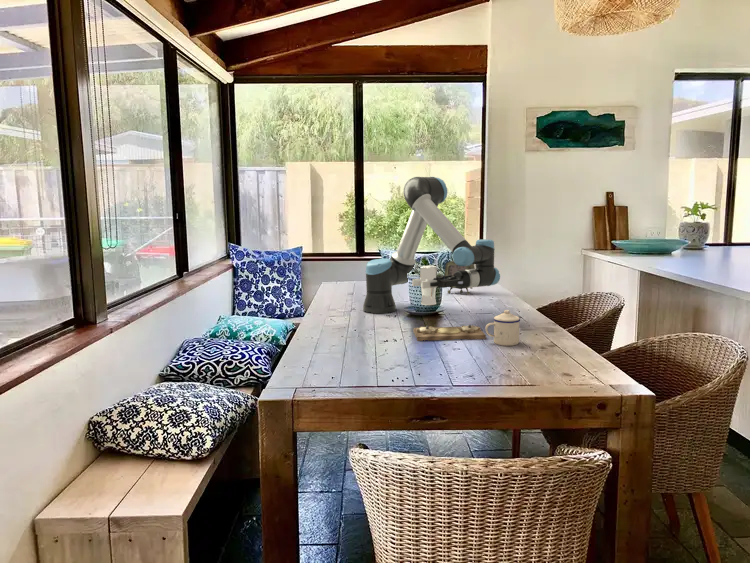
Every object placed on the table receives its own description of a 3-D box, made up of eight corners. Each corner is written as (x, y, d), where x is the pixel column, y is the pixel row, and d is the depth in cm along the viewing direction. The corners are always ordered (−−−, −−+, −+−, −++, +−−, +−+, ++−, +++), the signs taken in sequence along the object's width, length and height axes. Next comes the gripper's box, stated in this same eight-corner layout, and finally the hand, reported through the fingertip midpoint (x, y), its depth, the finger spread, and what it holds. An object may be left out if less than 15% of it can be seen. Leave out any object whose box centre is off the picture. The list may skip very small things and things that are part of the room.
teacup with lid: (515, 339, 202) (516, 307, 201) (522, 345, 193) (523, 312, 192) (482, 340, 202) (483, 308, 201) (488, 346, 193) (488, 313, 192)
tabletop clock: (444, 294, 299) (444, 247, 296) (450, 291, 307) (450, 245, 303) (470, 295, 293) (470, 248, 289) (475, 292, 300) (476, 246, 297)
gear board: (417, 340, 203) (417, 330, 202) (413, 331, 217) (413, 322, 216) (485, 338, 204) (485, 329, 203) (477, 329, 218) (477, 320, 217)
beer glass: (439, 302, 224) (439, 265, 222) (434, 306, 218) (433, 267, 215) (423, 301, 227) (423, 265, 224) (417, 304, 220) (416, 267, 218)
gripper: (480, 291, 221) (431, 297, 211) (451, 285, 238) (405, 289, 228) (480, 272, 220) (430, 277, 209) (452, 267, 237) (404, 271, 227)
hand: (417, 283), depth 219 cm, fingers closed on beer glass, 7 cm apart
